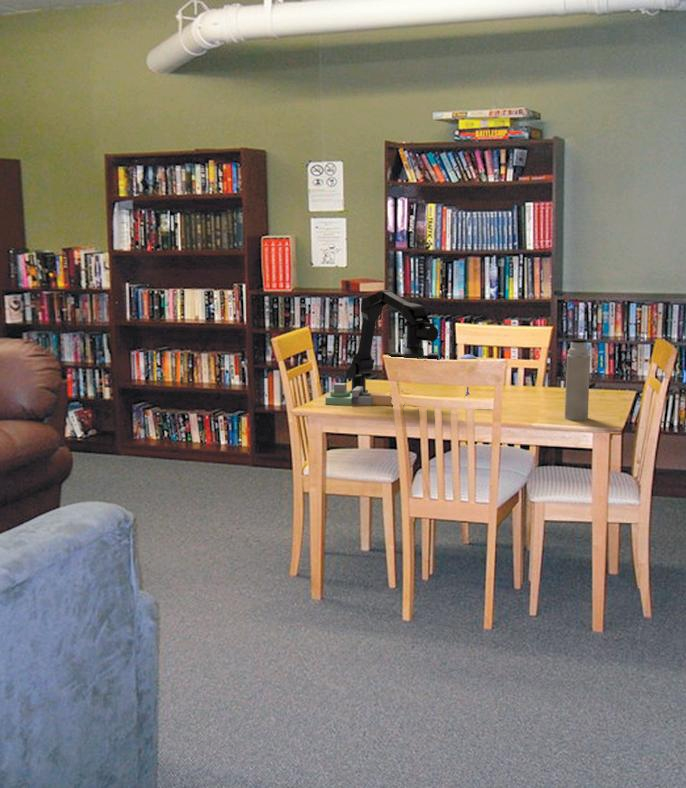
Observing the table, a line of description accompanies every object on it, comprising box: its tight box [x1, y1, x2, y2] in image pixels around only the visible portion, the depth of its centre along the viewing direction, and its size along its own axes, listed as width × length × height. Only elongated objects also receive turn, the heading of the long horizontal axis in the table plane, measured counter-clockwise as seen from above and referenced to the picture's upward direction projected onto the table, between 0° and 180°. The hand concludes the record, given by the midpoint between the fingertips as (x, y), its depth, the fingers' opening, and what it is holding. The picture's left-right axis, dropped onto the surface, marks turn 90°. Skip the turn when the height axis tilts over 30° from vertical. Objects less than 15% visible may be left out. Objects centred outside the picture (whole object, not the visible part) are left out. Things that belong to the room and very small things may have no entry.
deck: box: [325, 382, 373, 406], centre depth 408 cm, size 11×18×7 cm, turn 77°
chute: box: [370, 389, 404, 406], centre depth 405 cm, size 6×12×5 cm, turn 77°
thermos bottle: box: [564, 338, 591, 421], centre depth 374 cm, size 8×8×28 cm
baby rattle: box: [459, 354, 478, 397], centre depth 409 cm, size 9×9×18 cm
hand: (414, 380), depth 401 cm, fingers closed
